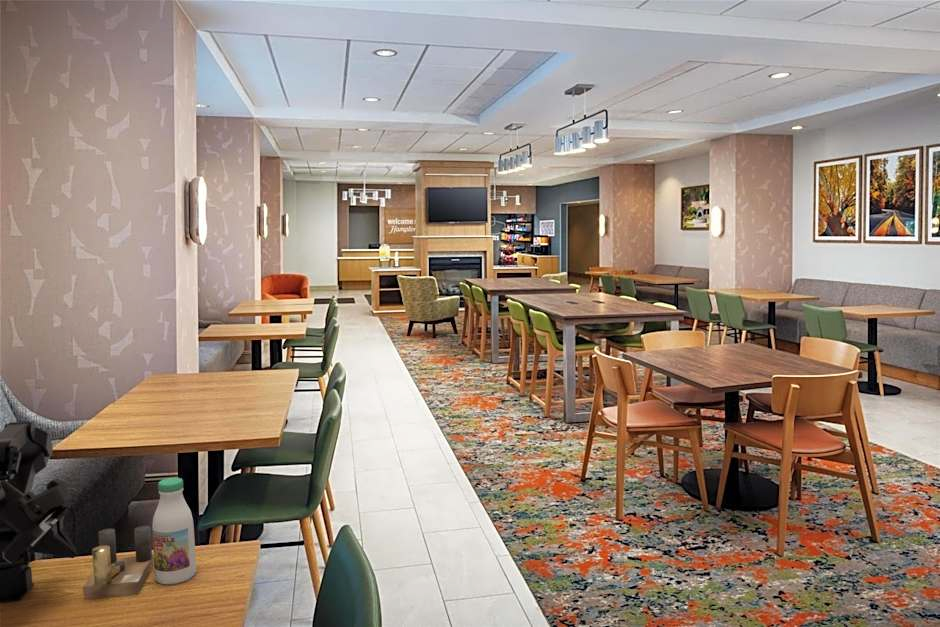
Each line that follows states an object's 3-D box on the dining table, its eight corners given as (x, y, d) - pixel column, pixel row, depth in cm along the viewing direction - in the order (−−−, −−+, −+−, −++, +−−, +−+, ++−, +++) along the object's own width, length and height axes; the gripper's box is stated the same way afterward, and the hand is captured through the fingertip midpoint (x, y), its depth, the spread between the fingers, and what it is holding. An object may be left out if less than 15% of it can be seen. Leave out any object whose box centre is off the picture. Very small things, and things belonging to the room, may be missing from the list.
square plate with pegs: (83, 599, 134) (80, 553, 133) (104, 571, 146) (101, 529, 145) (138, 594, 136) (136, 549, 135) (155, 566, 147) (152, 524, 146)
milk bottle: (167, 567, 147) (162, 473, 145) (203, 568, 146) (198, 474, 144) (147, 584, 139) (141, 486, 137) (184, 586, 139) (179, 487, 137)
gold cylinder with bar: (109, 570, 139) (106, 539, 139) (123, 571, 139) (121, 539, 138) (90, 585, 133) (88, 552, 133) (105, 585, 133) (103, 552, 133)
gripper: (17, 488, 122) (90, 544, 125) (57, 457, 140) (120, 506, 144) (-30, 536, 121) (44, 591, 125) (17, 498, 140) (81, 547, 143)
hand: (75, 555), depth 134 cm, fingers closed
